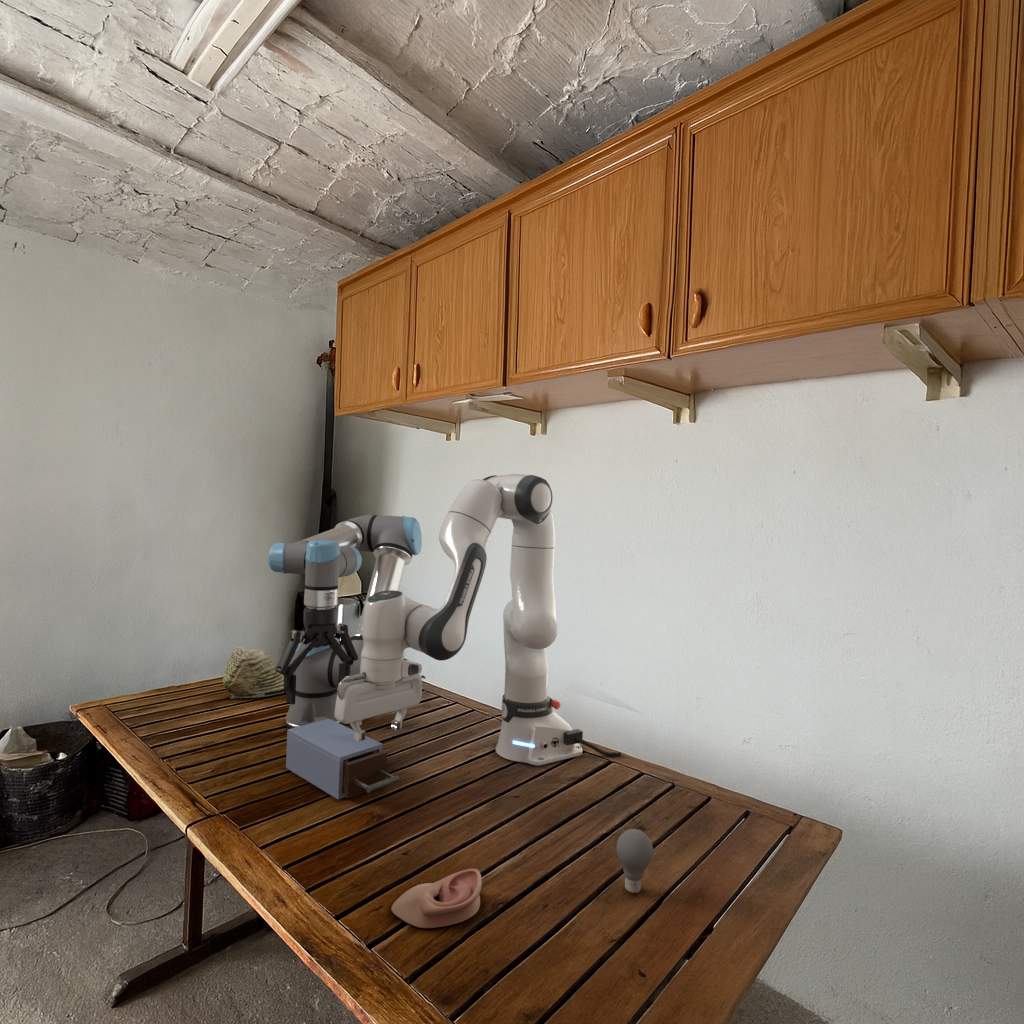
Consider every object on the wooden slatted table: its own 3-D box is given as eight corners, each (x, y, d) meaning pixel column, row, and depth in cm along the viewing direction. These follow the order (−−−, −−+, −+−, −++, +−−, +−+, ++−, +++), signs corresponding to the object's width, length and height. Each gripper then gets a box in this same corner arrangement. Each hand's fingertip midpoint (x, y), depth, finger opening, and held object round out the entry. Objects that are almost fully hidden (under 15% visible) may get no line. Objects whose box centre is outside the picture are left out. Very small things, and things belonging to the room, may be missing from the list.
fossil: (218, 695, 195) (220, 647, 195) (278, 685, 208) (279, 640, 207) (228, 703, 189) (230, 653, 188) (289, 692, 201) (290, 645, 201)
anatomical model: (384, 895, 95) (411, 854, 106) (383, 921, 95) (410, 877, 106) (469, 910, 92) (488, 866, 104) (468, 937, 93) (487, 890, 104)
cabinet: (381, 783, 141) (382, 743, 141) (338, 799, 133) (339, 757, 133) (327, 755, 155) (329, 718, 155) (285, 767, 147) (287, 729, 147)
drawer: (402, 793, 135) (404, 760, 135) (364, 808, 128) (365, 773, 128) (334, 756, 152) (335, 727, 152) (296, 768, 145) (297, 737, 145)
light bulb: (610, 879, 108) (613, 822, 108) (644, 879, 109) (647, 822, 109) (619, 902, 102) (622, 840, 102) (655, 901, 103) (658, 840, 103)
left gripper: (278, 614, 136) (275, 712, 137) (374, 603, 155) (371, 690, 155) (261, 609, 141) (258, 704, 142) (356, 599, 160) (353, 683, 160)
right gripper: (348, 681, 123) (344, 751, 123) (428, 664, 138) (424, 727, 138) (329, 674, 127) (326, 742, 127) (409, 658, 142) (406, 719, 143)
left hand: (317, 697), depth 148 cm, fingers open, 13 cm apart
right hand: (378, 734), depth 133 cm, fingers open, 8 cm apart
